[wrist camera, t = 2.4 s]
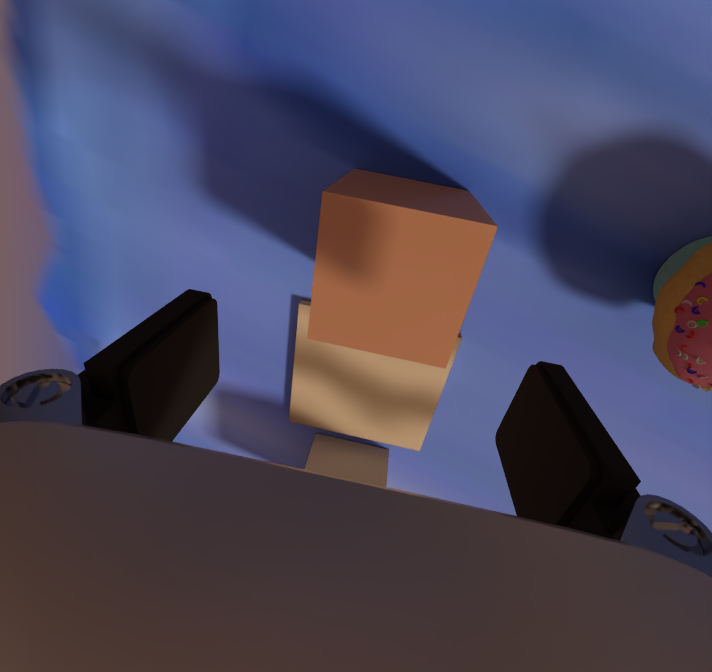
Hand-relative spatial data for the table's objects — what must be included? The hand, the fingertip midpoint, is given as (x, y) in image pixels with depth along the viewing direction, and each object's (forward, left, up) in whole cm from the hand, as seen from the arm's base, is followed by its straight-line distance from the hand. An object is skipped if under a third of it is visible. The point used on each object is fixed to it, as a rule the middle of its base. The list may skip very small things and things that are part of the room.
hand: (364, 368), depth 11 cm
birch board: (+10, 0, -13) cm, 17 cm away
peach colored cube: (-1, 0, -13) cm, 13 cm away
